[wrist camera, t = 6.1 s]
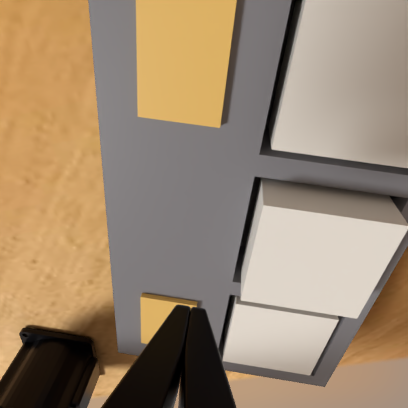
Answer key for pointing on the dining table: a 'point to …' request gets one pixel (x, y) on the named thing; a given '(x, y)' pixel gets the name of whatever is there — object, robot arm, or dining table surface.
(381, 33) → the key
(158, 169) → the key panel
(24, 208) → the dining table surface
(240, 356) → the key
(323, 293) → the key middle
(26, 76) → the dining table surface
